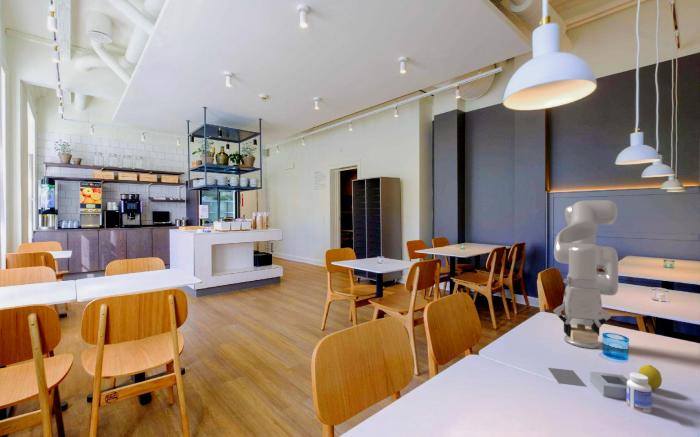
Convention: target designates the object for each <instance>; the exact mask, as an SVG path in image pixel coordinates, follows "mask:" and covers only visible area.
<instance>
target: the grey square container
mask: <svg viewBox="0 0 700 437" xmlns="http://www.w3.org/2000/svg"><path fill="white" fill-rule="evenodd" d="M589 373H590V374H589V375H590V378H589V382H590V383H591V385H592V386H593V387H594V388H595V389H596V390H597V391H598V392H599V393H600V394H601V395H602V397H603V398H604V397H605V398H613V399H620V400H627V381H628V380H629V379H628V378H627V377H625V376H624V374H617V373H609V372H599V371H590V372H589Z"/></svg>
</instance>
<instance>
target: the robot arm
mask: <svg viewBox="0 0 700 437" xmlns="http://www.w3.org/2000/svg"><path fill="white" fill-rule="evenodd" d="M564 217H565V218H564V219H565V221H566V224H567V226H566V227H564V228H563V229H561V230H560V231H559V232H558V233H557V235H556V236H555V239H554V246H553V257H554V259H555V261H556V262H558V263H560V264H567V265H568V273H567V275H566V278H564V279H563V283H564V284H567V285H566V286H565V290H564V293H563V301H562V304H561V305H559V306H557V307H556V308H554V309H553V312H554V314H555V315H556V316H557V318H559V319H560V320H561V321H562V322H563V333H564V334H565V335H564V337H563V339H564V340H563V341H565V342H567V343H568V344H570V345H572V346H576V347H579V348H585V349H599V347H600V346H601V345H600V344H601V343H600V342H599V341H598V343H589V342H579V341H572V340H571V339H570V338H569V337H570V333H571V325H576V326H577V324H583V325H585V326H588V327H590V328H591V329H592V330H594V331H595V332H596V333H597V334H598V337H599V336H600V328H601V327H602V326H603V325H604V324H606V322H607V321H608V320H609V319H611V318H612V315H611V314H610V313H608V311H606V310H605V309H604V308H603V304H602V303H603V301H602V295H603V296H611V297H612V296H615V295H616V294H617V293H618V292H619V291H618V290H619V255H618V252H617V250H616V249H615V248H614V247H613V246H605V245H604V246H603V245H598V244H596V242H597V241H596V240H597V238H596V233H598V227H599V226H600V225H602V226H610V225H613V224H614V223H615V221H616V220H617V217H618V206H617V204H616V203H615V202H614V201H612V200H607V199H603V200H601V199H599V200H598V199H596V200H595V199H592V200H589V199H588V200H579V201H576V202H575V203H573V204H571V205H568V206H567V207H566V208H565V209H564ZM597 269H602V270H603V271H598V270H597ZM561 312H562V313H564V314H565V315H564V316H563V315H562V313H561ZM568 336H569V337H568Z"/></svg>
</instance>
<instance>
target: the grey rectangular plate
mask: <svg viewBox="0 0 700 437" xmlns="http://www.w3.org/2000/svg"><path fill="white" fill-rule="evenodd" d="M547 368H548V370H549V372H550V373H551V375H552V376H553V377H554V379H555V380H556V381H557V383H558V384H561V385H562V384H563V385H570V386H578V387H584V388H585V387H587V385H586V384H585V383H584V382H583V380H582V379H581V378H580V377H579V376H578V375H577V373H576V372H575V371H574V370H572V369H564V368H563V369H562V368H555V367H554V368H553V367H547Z"/></svg>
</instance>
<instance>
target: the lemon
mask: <svg viewBox="0 0 700 437" xmlns="http://www.w3.org/2000/svg"><path fill="white" fill-rule="evenodd" d="M638 373H640V374H643V375H645V376H647V377H648V384H649V385H650V386H651V389H652V390H656V389H659V388H660V386H661V385H662V382H663V378H662V375H661V373H660V371H659V370H658V369H657V368H656V367H654V366H653V365H651V364H647V365H642V366H641V367H640V368H639V370H638Z"/></svg>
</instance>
